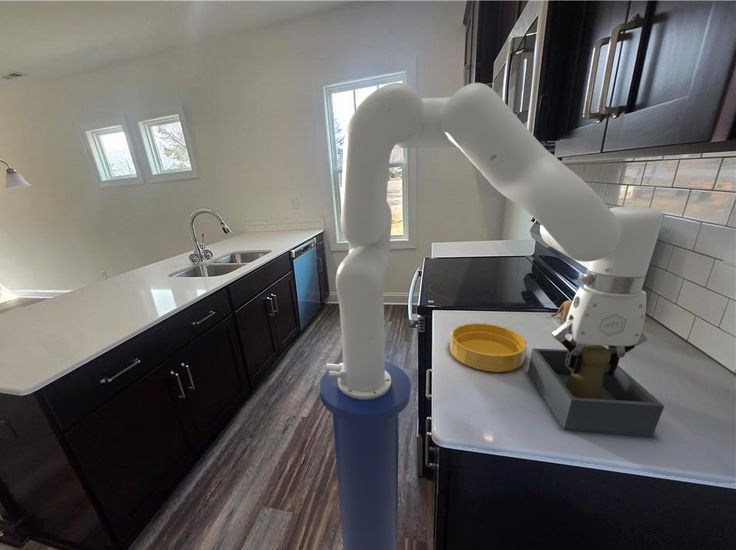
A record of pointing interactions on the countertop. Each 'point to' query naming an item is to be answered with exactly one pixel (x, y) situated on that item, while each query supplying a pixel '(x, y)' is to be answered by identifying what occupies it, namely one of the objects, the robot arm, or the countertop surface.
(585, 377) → the cork
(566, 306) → the lion figurine
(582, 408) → the bin
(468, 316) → the countertop surface
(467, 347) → the bowl
